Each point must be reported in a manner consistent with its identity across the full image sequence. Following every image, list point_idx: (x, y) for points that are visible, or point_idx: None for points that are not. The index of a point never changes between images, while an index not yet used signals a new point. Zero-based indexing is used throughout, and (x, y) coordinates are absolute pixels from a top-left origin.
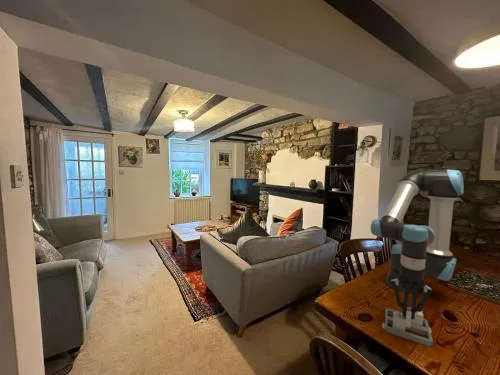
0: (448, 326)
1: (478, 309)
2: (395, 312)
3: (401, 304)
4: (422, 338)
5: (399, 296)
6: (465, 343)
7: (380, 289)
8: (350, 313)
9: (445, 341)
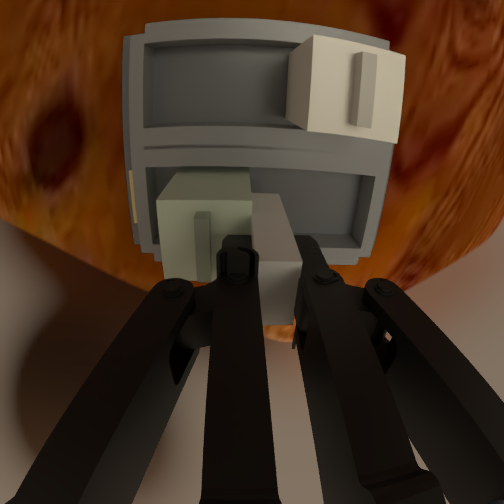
0: (465, 20)
1: None
2: (172, 209)
3: (198, 343)
4: (326, 259)
5: (158, 440)
6: (487, 125)
7: None
8: (5, 163)
9: (430, 141)
